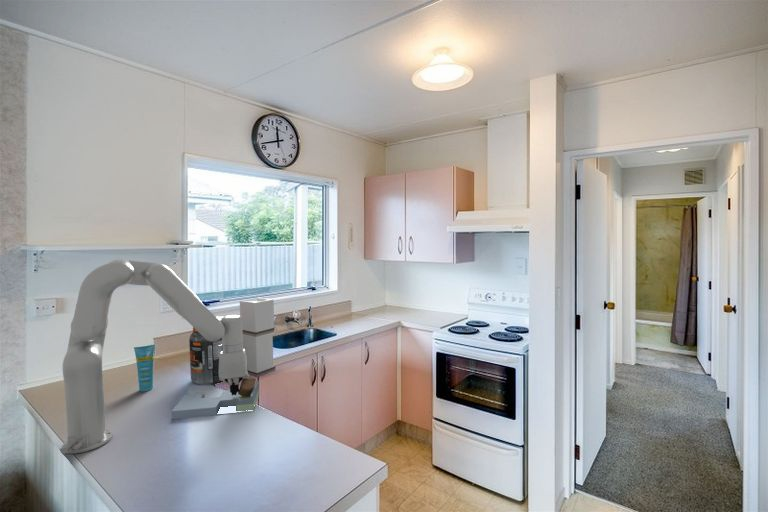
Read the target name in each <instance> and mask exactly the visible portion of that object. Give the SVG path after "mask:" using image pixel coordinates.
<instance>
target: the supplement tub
mask: <svg viewBox="0 0 768 512" xmlns="http://www.w3.org/2000/svg"><path fill="white" fill-rule="evenodd" d="M188 341H189V342H188V343H189V366H190V371H189V372H190V380H191V382H192V383H193V384H197V385H210V384H215V383H219V382H221V380H219V357H220V352H221V351H222V350H221V349H218V346H219V345H222V338H221V339H220V340H218V341H214V342H211V341H208V340H206V339H205V338H204V337H203V336H202V335H201V334H200V333H199V332H198V331H197V330H196V329H195V328H194V327H193V326H192V332H191V334H190V336H189V339H188Z"/></svg>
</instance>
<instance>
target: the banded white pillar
mask: <svg viewBox="0 0 768 512" xmlns="http://www.w3.org/2000/svg"><path fill="white" fill-rule="evenodd" d="M274 305H275V303H274V299H272V298H264V297H256V301H248V300H239V316H241V317H242V328H243V349H245V352H246V356H247V363H248V375H249V376H250V377H253V378H255V377H256V378H259V377H263V376H265V375H267V374H268V375H269V374H270V373H273V372H276V365H274V341H273V340H274V338H273V336H274V335H275V307H274Z"/></svg>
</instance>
